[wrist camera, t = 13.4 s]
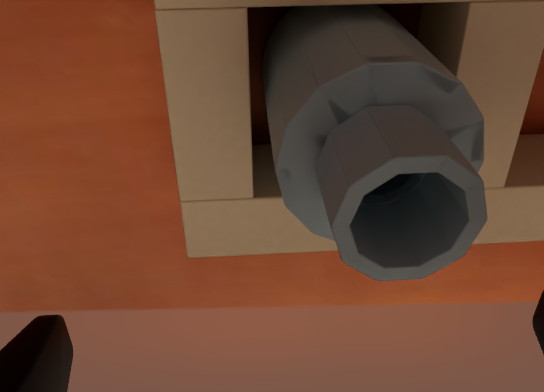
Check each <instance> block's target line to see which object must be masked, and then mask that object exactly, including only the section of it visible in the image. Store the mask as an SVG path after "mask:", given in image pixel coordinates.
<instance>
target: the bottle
mask: <svg viewBox="0 0 544 392" xmlns="http://www.w3.org/2000/svg"><path fill="white" fill-rule="evenodd" d="M262 81H263V88H264V95H265V102H266V109H267V117H268V124H269V131H270V138H271V145H272V153H273V160H274V167H275V172H276V176H277V179H278V183H279V187H280V190H281V194H282V198H283V201H284V205H285V206H286V208H287V209H288V210H289V211H290V212H291V213H292V214H293V215H294V216H295V217H296V218H297V219H298V220H299V221H300V222H301V223H302V224H303V225H304V226H305V227H306V228H307V229H308V230H309V231H310V232H312V233H313V234H315V235H318V236H321V237H324V238H327V239H330V240H333V241H335V242H336V245H337V248H338V251H339V254H340V257H341V260H342V261H343V262H344V263H345V264H347V265H349V266H351V267H353V268H354V269H356V270H358V271H360V272H362V273H364V274H366V275H367V276H369V277H371V278H373V279H375V280H378V281H388V280H407V279H421V278H425V277H427V276H429V275H430V274H432V273H434V272H436V271H438V270H440V269H441V268H443V267H445V266H447V265H449V264H451V263H452V262H454V261H456V260H458V259H460V258H462V257H463V255H465V254H466V252H467V251H468V249H469V248H470V246H471V245H472V243H473V242H474V240H475V238H476V237H477V235H478V234H479V232H480V231H481V229H482V228H483V226H484V225H485V223H486V222H487V218H488V215H487V207H486V199H485V190H484V182H483V180H482V178H481V177H480V175H479V174H478V172H479V170H480V168H481V166H482V164H483V162H484V118H483V115H482V113H481V112H480V110H479V109H478V107H477V105H476V104H475V102H474V101H473V99H472V97H471V96H470V94H469V93H468V91H467V89H466V88H465V86H464V85H463V83H462V82H461V81H460V80H459V79H458V78H457V77H456V76H454V75H453V74H452V73H451V72H450V71H449V70H448V69H447V68H446V67H445V66H444V65H443V64H442V63H441V62H440V61H439V60H438V59H437V58H436V57H434V56H433V55H432V54H431V53H430V52H429V51H428V50H427V49H426V48H425V47H424V46H423V45H422V44H421V43H420V42H419V41H418V40H417V39H416V38H414V37H413V36H412V35H411V34H410V33H409V32H408V31H407V30H406V29H405V28H404V27H403V26H402V25H401V24H400V23H399V22H398V21H397V20H396V19H394V18H393V17H392V16H391V15H390V14H389V13H388V12H387V11H386V10H385V9H383V8H381V7H379V6H378V5H376V4H360V5H320V6H295V7H293V8H292V9H291V10H289V11H288V12H287V13H286V14H285V15H284V16H283V17H282V18H281V20H280V21H279V22H278V23H277V24H276V26H275V28H274V29H273V31H272V32H271V34H270V37H269V39H268V41H267V44H266V47H265V50H264V56H263V67H262Z"/></svg>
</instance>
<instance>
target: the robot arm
mask: <svg viewBox="0 0 544 392" xmlns="http://www.w3.org/2000/svg"><path fill="white" fill-rule="evenodd" d="M533 328H534V331H535V334H536V336H537V339H538V341H539V344H540V346H541V349H542V351H543V354H544V290H543V292H542V295H541V297H540V300H539V302H538V305H537V308H536V310H535V313H534V316H533ZM72 359H73V346H72V343H71V339H70V336H69V333H68V330H67V327H66V324H65V321H64V319H63V317H62V316H61V315H43V316H38V317H36V318H35V319H34V320H33V321H31V322H30V323H29V324H28V325H27V326H26V327H25V328H24V329H23V330H22V331H21V332H20V333H19V334H17V335H16V337H14V338H13V339H12V340H11V341H10V342H9V343H8V344H7V345H6V346H5V347H4V348H3V349H1V350H0V392H67V389H68V383H69V377H70V371H71V365H72Z"/></svg>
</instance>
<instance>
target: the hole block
mask: <svg viewBox="0 0 544 392" xmlns="http://www.w3.org/2000/svg"><path fill="white" fill-rule="evenodd" d="M401 3H422V5H421V11H420V18H419V25H418V32H417V40H418V41H419V42H420V43H421V44H422V45H423V46H424V47H425V48H426V49H427V50H428V51H429V52H430V53H431V54H432V55H433V56H434V57H436V58H437V59H438V60H439V61H440V62H441V63H442V64H443V65H444V66H445V67H446V68H447V69H448V70H449V71H450V72H451V73H452V74H453V75H454V76H456V77H457V78H458V79H459V80H460V81H461V82H462V83H463V85H464V86H465V88H466V89H467V91H468V93H469V94H470V96H471V97H472V99H473V101H474V102H475V104H476V105H477V107H478V109H479V110H480V112H481V113H482V115H483V118H484V162H483V164H482V166H481V168H480V170H479V172H478V174H479V175H480V177H481V178H482V180H483V182H484V190H485V199H486V207H487V215H488V218H487V222H486V223H485V225H484V226H483V228H482V229H481V231H480V232H479V234H478V235H477V237H476V238H475V240H474V242H473V243H472V244H483V243H503V242H524V241H544V134H528V135H519V133H520V129H521V126H522V122H523V119H524V115H525V112H526V108H527V105H528V101H529V98H530V94H531V91H532V87H533V84H534V80H535V77H536V73H537V69H538V66H539V62H540V59H541V55H542V52H543V48H544V0H154V6H155V8H156V11H155V15H156V23H157V31H158V38H159V46H160V54H161V61H162V69H163V77H164V84H165V92H166V100H167V108H168V115H169V123H170V131H171V138H172V146H173V154H174V161H175V169H176V177H177V184H178V192H179V199H180V206H181V214H182V221H183V229H184V237H185V244H186V252H187V256H188V258H196V257H216V256H237V255H257V254H278V253H298V252H319V251H338V248H337V245H336V242H335V241H333V240H330V239H327V238H324V237H321V236H318V235H315V234H313V233H312V232H310V231H309V230H308V229H307V228H306V227H305V226H304V225H303V224H302V223H301V222H300V221H299V220H298V219H297V218H296V217H295V216H294V215H293V214H292V213H291V212H290V211H289V210H288V209H287V208H286V206H285V205H284V201H283V198H282V194H281V190H280V187H279V183H278V179H277V176H276V172H275V167H274V160H273V153H272V145H271V144H266V145H252V130H251V101H250V72H249V42H248V13H247V7H280V6H320V5H360V4H401Z"/></svg>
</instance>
